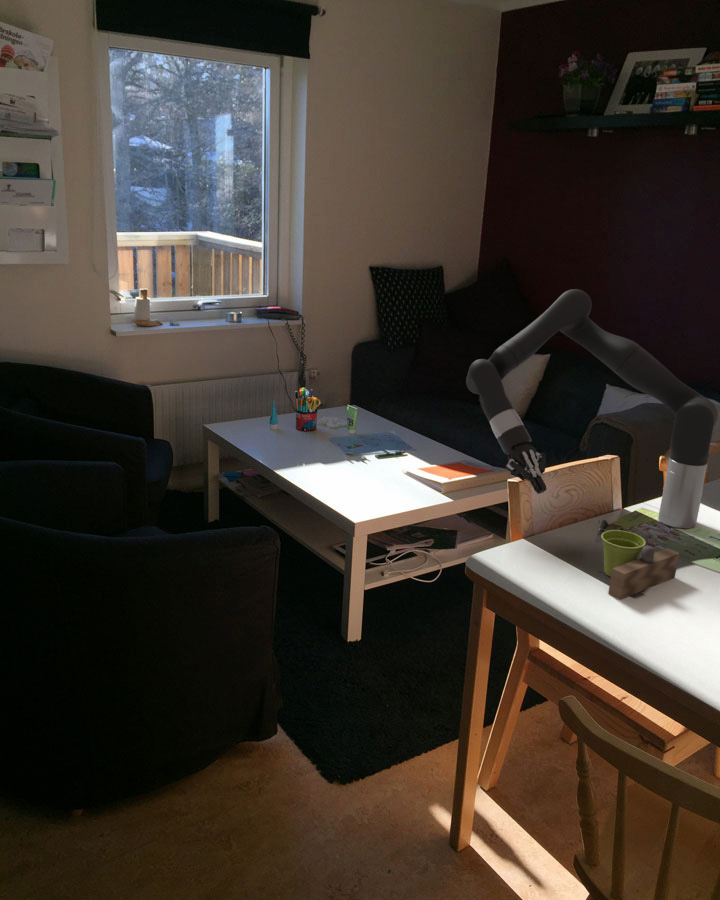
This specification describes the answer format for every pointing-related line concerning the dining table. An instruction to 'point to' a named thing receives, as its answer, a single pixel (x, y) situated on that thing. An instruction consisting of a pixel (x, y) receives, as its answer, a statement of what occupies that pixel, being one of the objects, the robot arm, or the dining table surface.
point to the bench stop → (643, 572)
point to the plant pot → (620, 548)
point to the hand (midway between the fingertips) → (542, 492)
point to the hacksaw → (601, 529)
